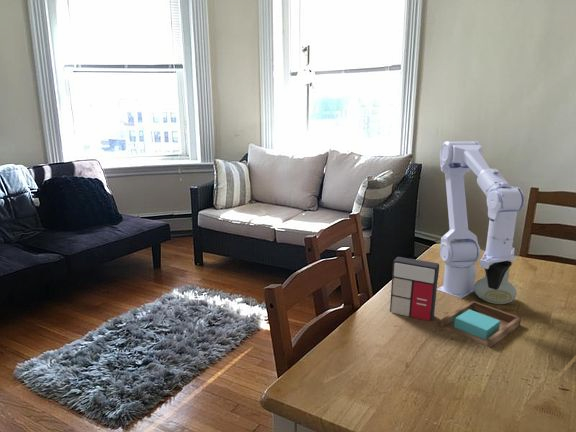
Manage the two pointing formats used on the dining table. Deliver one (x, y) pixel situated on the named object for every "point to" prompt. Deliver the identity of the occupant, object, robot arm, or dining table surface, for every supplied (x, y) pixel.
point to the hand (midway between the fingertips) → (493, 287)
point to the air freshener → (496, 291)
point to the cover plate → (477, 324)
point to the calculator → (414, 288)
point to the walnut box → (506, 319)
